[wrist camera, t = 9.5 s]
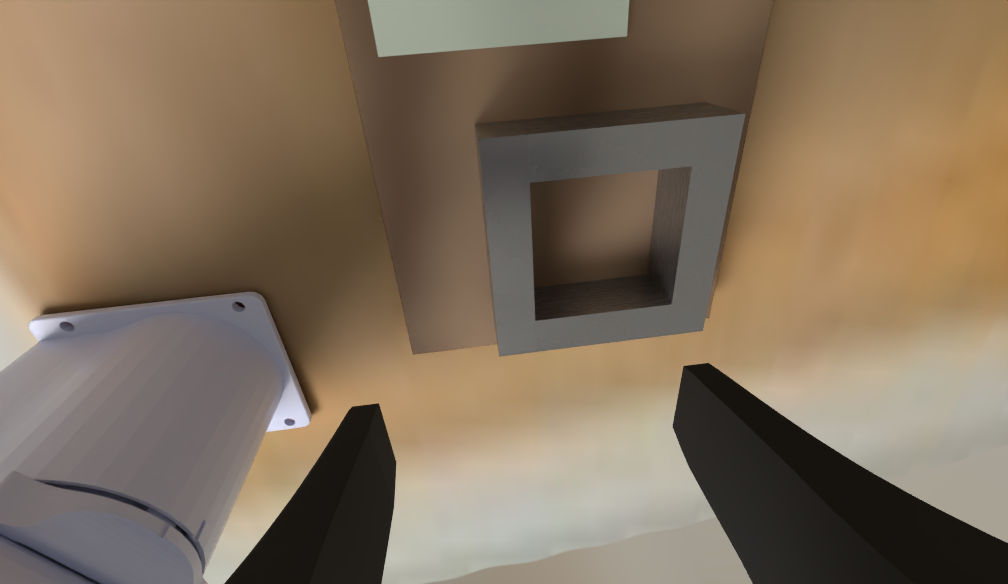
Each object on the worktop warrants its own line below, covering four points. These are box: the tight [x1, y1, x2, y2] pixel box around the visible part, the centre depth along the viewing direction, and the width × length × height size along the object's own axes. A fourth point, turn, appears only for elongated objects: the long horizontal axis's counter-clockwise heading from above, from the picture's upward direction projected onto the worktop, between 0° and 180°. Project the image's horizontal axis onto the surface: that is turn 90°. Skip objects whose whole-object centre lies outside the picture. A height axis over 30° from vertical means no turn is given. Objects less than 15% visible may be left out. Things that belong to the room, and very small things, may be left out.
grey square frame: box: [474, 102, 745, 356], centre depth 17 cm, size 8×8×2 cm
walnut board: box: [335, 0, 773, 355], centre depth 16 cm, size 14×21×2 cm, turn 4°
